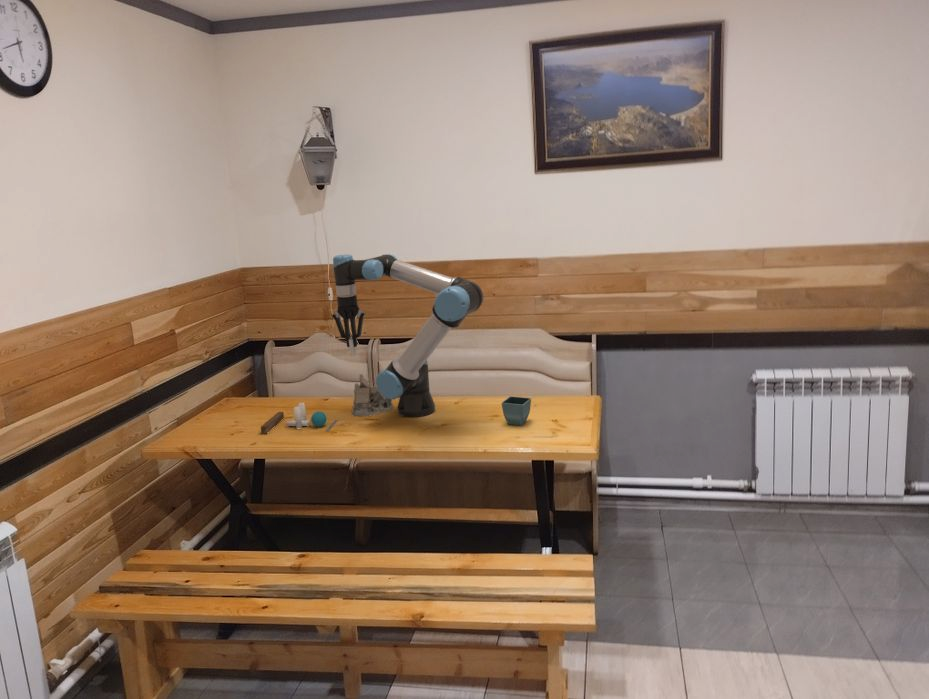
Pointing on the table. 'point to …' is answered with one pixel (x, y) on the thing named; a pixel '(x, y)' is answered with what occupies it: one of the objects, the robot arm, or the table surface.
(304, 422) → the pin front
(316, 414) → the ball
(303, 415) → the pin
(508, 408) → the flower pot
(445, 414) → the table surface
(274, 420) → the brown wooden bar
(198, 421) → the table surface
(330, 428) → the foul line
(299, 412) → the pin
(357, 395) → the grey castle model
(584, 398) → the table surface
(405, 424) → the table surface
